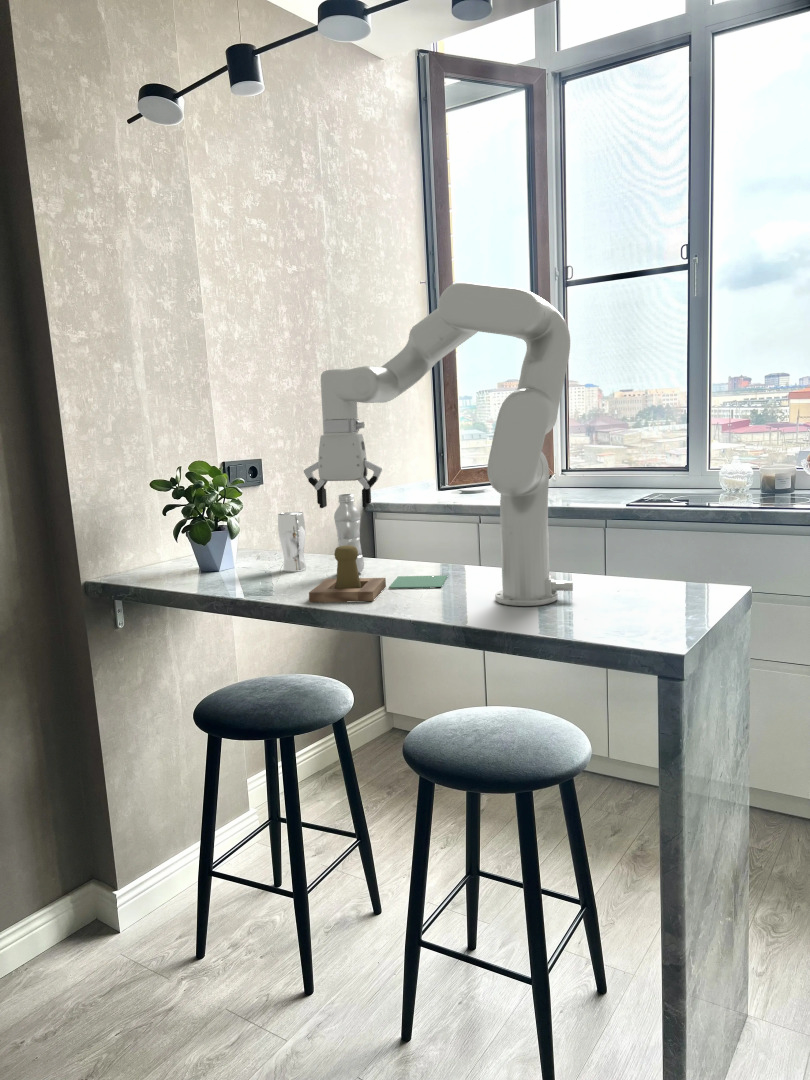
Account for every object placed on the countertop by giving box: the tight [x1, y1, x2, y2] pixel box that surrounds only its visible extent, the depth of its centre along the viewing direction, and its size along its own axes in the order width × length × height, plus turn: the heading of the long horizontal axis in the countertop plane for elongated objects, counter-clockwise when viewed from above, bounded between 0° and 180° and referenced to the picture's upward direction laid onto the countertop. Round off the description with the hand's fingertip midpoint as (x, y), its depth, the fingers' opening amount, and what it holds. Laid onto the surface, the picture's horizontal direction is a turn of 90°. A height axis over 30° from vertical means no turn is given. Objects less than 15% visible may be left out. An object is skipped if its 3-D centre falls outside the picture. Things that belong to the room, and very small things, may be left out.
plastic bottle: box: [333, 493, 365, 573], centre depth 196 cm, size 6×7×20 cm
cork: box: [334, 545, 361, 589], centre depth 174 cm, size 6×6×11 cm
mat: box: [388, 574, 448, 589], centre depth 183 cm, size 12×12×1 cm
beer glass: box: [277, 511, 307, 573], centre depth 206 cm, size 7×7×15 cm
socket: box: [308, 577, 387, 603], centre depth 174 cm, size 14×14×2 cm
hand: (344, 507), depth 172 cm, fingers open, 9 cm apart
